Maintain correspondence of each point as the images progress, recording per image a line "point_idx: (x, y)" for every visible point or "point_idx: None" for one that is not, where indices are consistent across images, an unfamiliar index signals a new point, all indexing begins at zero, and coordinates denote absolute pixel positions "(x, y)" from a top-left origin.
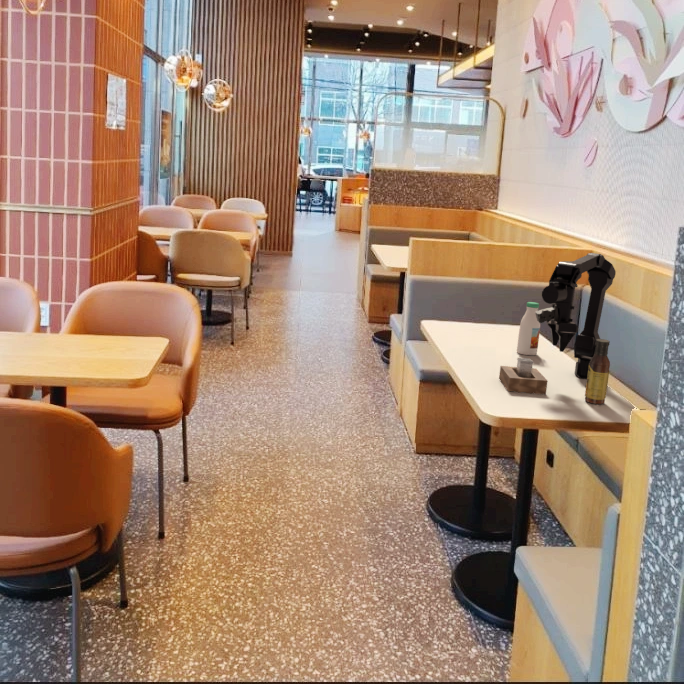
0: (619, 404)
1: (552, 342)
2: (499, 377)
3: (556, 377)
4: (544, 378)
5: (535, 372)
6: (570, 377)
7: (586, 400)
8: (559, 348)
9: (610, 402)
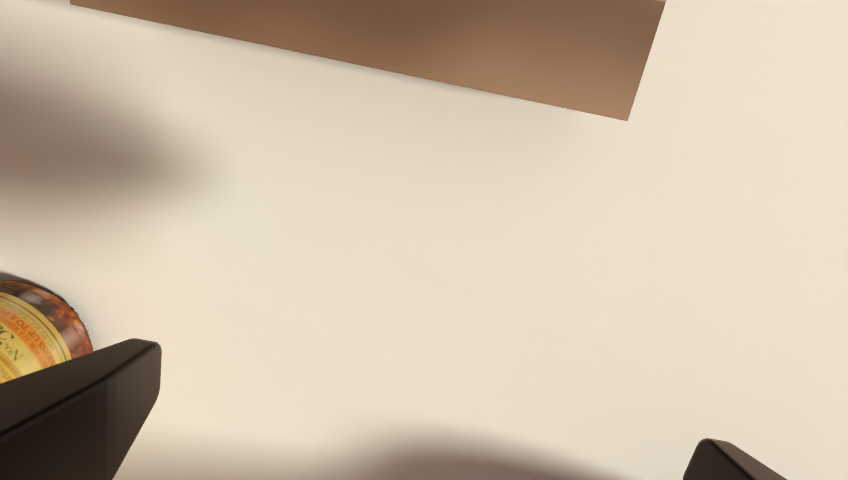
0: None
1: (761, 467)
2: None
3: (703, 362)
4: (169, 11)
5: (441, 20)
6: None
7: (2, 282)
8: (124, 360)
9: None
